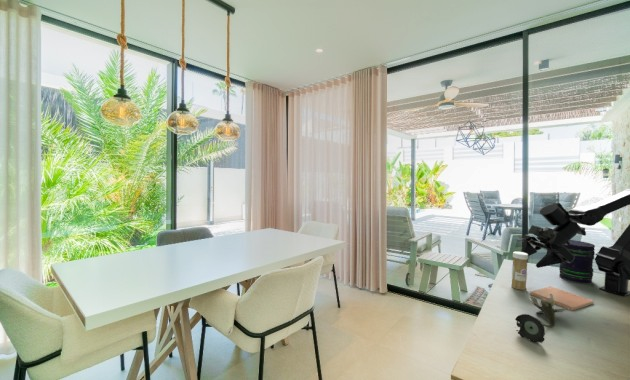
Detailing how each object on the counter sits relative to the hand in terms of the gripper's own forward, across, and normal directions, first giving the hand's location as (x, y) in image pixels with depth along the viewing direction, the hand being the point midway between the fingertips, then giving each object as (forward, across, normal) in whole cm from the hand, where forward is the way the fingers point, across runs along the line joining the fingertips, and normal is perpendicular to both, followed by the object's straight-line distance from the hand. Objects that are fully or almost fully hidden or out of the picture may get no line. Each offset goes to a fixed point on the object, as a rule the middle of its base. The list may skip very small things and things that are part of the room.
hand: (527, 262), depth 99 cm
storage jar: (-12, -11, +26) cm, 30 cm away
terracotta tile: (+3, +8, +11) cm, 14 cm away
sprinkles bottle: (+9, 0, +5) cm, 10 cm away
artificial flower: (+17, +26, -2) cm, 31 cm away
